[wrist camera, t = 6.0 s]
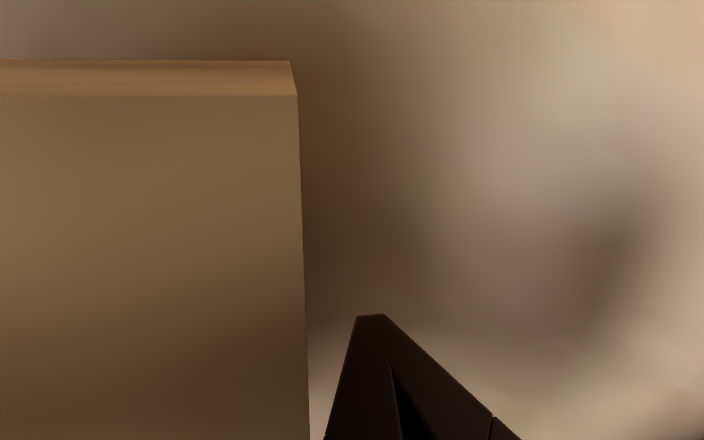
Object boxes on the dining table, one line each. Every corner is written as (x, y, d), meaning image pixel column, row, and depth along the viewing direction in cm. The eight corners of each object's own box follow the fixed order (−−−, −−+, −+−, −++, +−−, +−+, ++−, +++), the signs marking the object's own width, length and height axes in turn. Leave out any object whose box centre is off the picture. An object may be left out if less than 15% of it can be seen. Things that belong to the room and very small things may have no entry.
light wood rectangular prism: (303, 391, 12) (314, 549, 8) (79, 416, 11) (-15, 605, 8) (289, 60, 8) (297, 95, 4) (-63, 58, 7) (-404, 99, 4)
